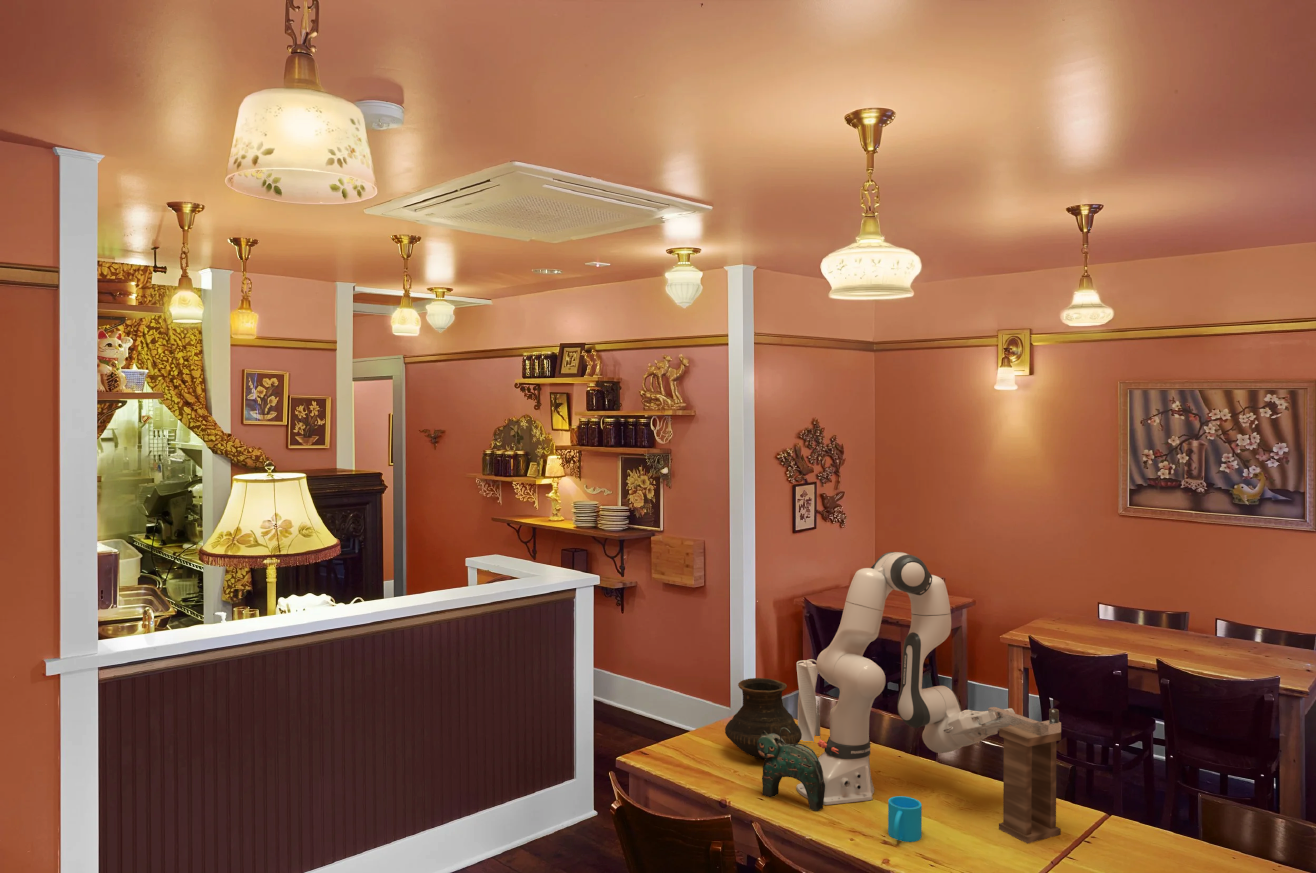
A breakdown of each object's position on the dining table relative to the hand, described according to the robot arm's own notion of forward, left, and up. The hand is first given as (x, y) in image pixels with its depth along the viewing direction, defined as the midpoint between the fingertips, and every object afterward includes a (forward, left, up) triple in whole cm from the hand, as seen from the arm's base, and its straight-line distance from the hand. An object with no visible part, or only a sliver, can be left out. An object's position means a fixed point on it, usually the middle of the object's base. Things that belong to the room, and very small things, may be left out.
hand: (1002, 713), depth 232 cm
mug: (-32, +3, -28) cm, 43 cm away
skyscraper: (-9, +74, -28) cm, 80 cm away
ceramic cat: (-44, +34, -28) cm, 62 cm away
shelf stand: (0, -9, -28) cm, 29 cm away
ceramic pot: (-31, +68, -28) cm, 80 cm away
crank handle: (+2, -5, -2) cm, 6 cm away
